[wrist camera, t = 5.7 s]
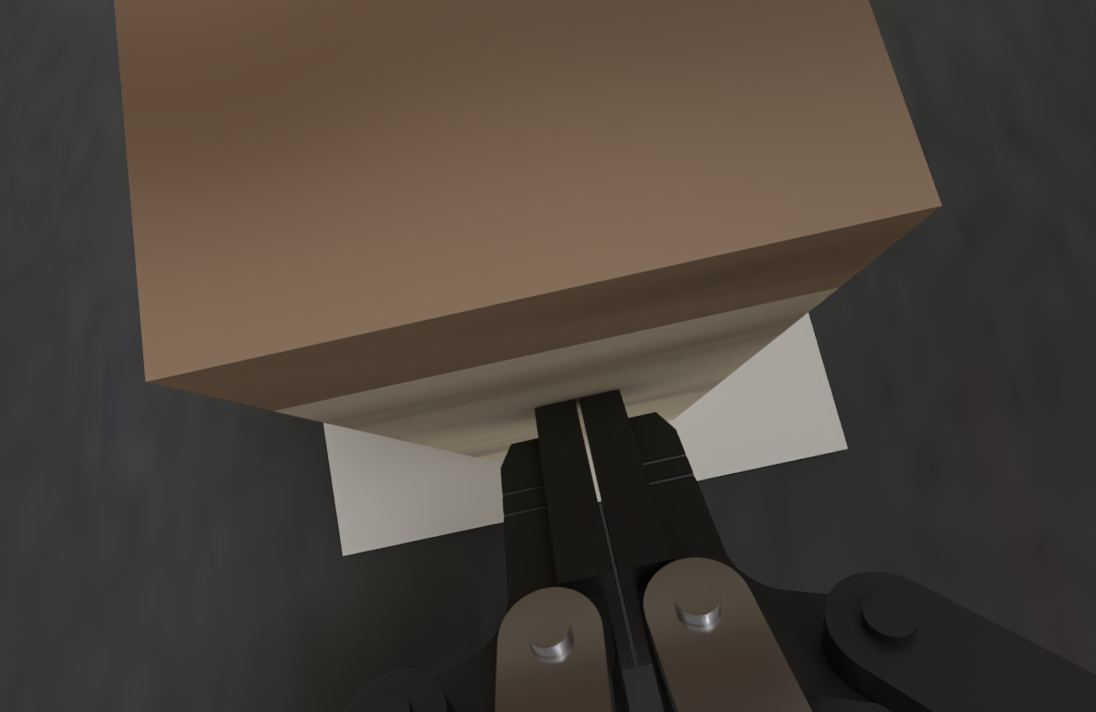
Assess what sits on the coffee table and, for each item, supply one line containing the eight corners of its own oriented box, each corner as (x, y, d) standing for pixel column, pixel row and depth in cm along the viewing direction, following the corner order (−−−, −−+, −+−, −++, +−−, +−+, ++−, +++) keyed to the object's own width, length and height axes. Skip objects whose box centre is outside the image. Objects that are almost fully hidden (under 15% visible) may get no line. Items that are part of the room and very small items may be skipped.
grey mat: (255, -77, 25) (247, -90, 25) (660, -173, 25) (662, -189, 24) (350, 553, 21) (343, 556, 20) (840, 449, 21) (848, 448, 20)
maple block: (453, 281, 22) (94, -240, 6) (629, 242, 22) (727, -396, 6) (486, 460, 21) (146, 382, 5) (674, 419, 20) (941, 205, 5)
